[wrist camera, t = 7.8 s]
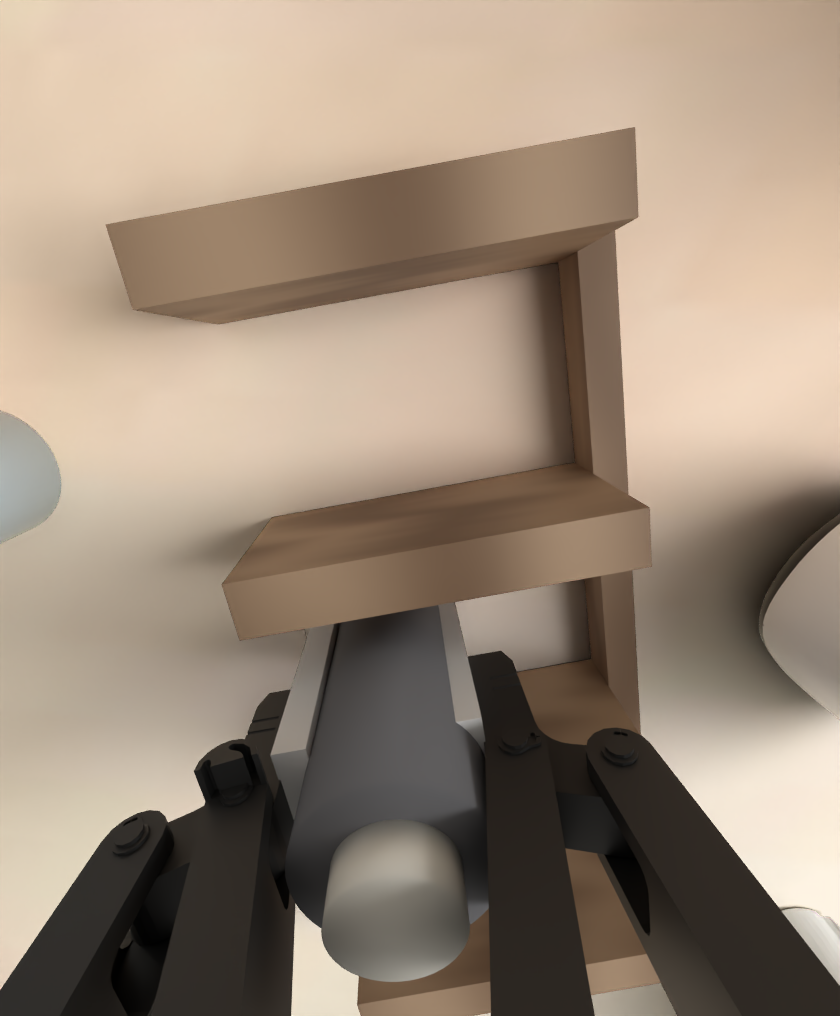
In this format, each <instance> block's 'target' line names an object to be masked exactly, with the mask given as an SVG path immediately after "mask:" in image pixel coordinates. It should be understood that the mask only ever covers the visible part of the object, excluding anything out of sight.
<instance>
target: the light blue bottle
mask: <svg viewBox="0 0 840 1016" xmlns="http://www.w3.org/2000/svg"><path fill="white" fill-rule="evenodd" d="M60 493H61V476H60V470H59V467H58V464H57V461H56V459H55V457H54V454H53V452H52V451H51V449H50V448H49V446H48V444H47V443H46V442H45V441H44V439H43V438H42V437H41V436H40V435H39V434H38V433H37V432H36V431H35V430H34V429H33V428H31V427H30V426H29V425H28V424H26V423H25V422H23V421H22V420H20V419H19V418H17V417H15V416H13V415H11V414H8V413H6V412H3V411H0V544H1V543H3V542H5V541H7V540H9V539H12V538H14V537H16V536H18V535H20V534H22V533H24V532H26V531H28V530H30V529H32V528H34V527H36V526H38V525H40V524H41V523H42V522H44V521H45V520H46V519H47V518H48V517H49V516H50V515H51V514H52V512H53V511H54V509H55V508H56V505H57V503H58V501H59V497H60Z"/></svg>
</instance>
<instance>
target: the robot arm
mask: <svg viewBox="0 0 840 1016" xmlns="http://www.w3.org/2000/svg"><path fill="white" fill-rule="evenodd" d="M439 612H440V619H441V626H442V632H443V639H444V646H445V653H446V659H447V666H448V673H449V680H450V686H451V693H452V700H453V707H454V713H455V720H456V723H458V724H459V725H461V726H462V727H463V728H464V729H466V730H467V731H468V732H469V733H470V734H471V735H472V736H473V738H474V739H475V740H476V741H477V743H478V744H479V746H480V747H481V749H482V751H483V753H484V756H485V763H486V809H487V855H488V901H489V946H490V992H491V1016H595V1015H594V1009H593V1004H592V998H591V992H590V986H589V981H588V975H587V969H586V964H585V958H584V952H583V946H582V941H581V935H580V929H579V924H578V918H577V912H576V906H575V901H574V895H573V889H572V884H571V878H570V872H569V866H568V861H567V855H566V849H573V850H579V851H585V852H592V853H597V855H598V857H599V859H600V861H601V863H602V865H603V867H604V869H605V871H606V873H607V875H608V877H609V879H610V881H611V883H612V885H613V887H614V889H615V891H616V893H617V895H618V897H619V899H620V901H621V903H622V905H623V908H624V910H625V912H626V914H627V916H628V918H629V920H630V922H631V924H632V926H633V928H634V930H635V932H636V934H637V936H638V938H639V940H640V942H641V944H642V946H643V948H644V950H645V952H646V954H647V956H648V958H649V960H650V962H651V964H652V966H653V968H654V970H655V972H656V974H657V976H658V978H659V980H660V982H661V984H662V986H663V988H664V990H665V992H666V994H667V996H668V998H669V1000H670V1002H671V1004H672V1006H673V1008H674V1010H675V1012H676V1014H677V1016H840V985H839V984H838V983H837V982H836V980H835V979H834V978H833V976H832V975H831V974H830V973H829V971H828V970H827V969H826V967H825V966H824V965H823V964H822V962H821V961H820V960H819V958H818V957H817V956H816V955H815V953H814V952H813V951H812V950H811V948H810V947H809V946H808V944H807V943H806V942H805V941H804V939H803V938H802V937H801V935H800V934H799V933H798V932H797V930H796V929H795V928H794V927H793V925H792V924H791V923H790V921H789V920H788V919H787V918H786V916H785V915H784V914H783V912H782V911H781V910H780V909H779V907H778V906H777V905H776V903H775V902H774V901H773V900H772V898H771V897H770V896H769V895H768V893H767V892H766V891H765V889H764V888H763V887H762V886H761V884H760V883H759V882H758V880H757V879H756V878H755V877H754V875H753V874H752V873H751V872H750V870H749V869H748V868H747V866H746V865H745V864H744V863H743V861H742V860H741V859H740V857H739V856H738V855H737V854H736V852H735V851H734V850H733V849H732V847H731V846H730V845H729V843H728V842H727V841H726V840H725V838H724V837H723V836H722V834H721V833H720V832H719V831H718V829H717V828H716V827H715V825H714V824H713V823H712V822H711V820H710V819H709V818H708V817H707V815H706V814H705V813H704V811H703V810H702V809H701V808H700V806H699V805H698V804H697V802H696V801H695V800H694V799H693V797H692V796H691V795H690V794H689V792H688V791H687V790H686V788H685V787H684V786H683V785H682V783H681V782H680V781H679V779H678V778H677V777H676V776H675V774H674V773H673V772H672V770H671V769H670V768H669V767H668V765H667V764H666V763H665V762H664V760H663V759H662V758H661V756H660V755H659V754H658V753H657V751H656V750H655V749H654V747H653V746H652V745H651V744H650V743H649V742H648V741H647V740H646V739H645V738H644V737H643V736H641V735H640V734H637V733H635V732H633V731H631V730H628V729H622V728H617V727H616V728H605V729H602V730H600V731H597V732H595V733H594V734H593V735H592V736H591V737H590V738H589V739H588V740H587V745H580V744H569V743H564V742H560V741H557V740H554V739H552V738H550V737H549V736H547V735H545V734H544V733H543V732H542V731H541V730H540V729H539V728H538V726H537V724H536V722H535V720H534V717H533V714H532V712H531V709H530V706H529V704H528V701H527V698H526V696H525V693H524V691H523V688H522V685H521V683H520V680H519V677H518V675H517V672H516V669H515V667H514V664H513V661H512V660H511V659H510V658H509V657H508V656H506V655H505V654H504V653H503V652H502V651H497V652H492V653H486V654H480V655H475V656H469V657H467V653H466V648H465V644H464V640H463V636H462V631H461V627H460V623H459V618H458V614H457V610H456V605H455V602H452V603H447V604H441V605H439ZM339 624H340V623H335V624H330V625H324V626H319V627H313V628H310V630H309V633H308V636H307V639H306V643H305V646H304V649H303V652H302V655H301V659H300V662H299V665H298V668H297V671H296V675H295V678H294V681H293V684H292V687H291V690H285V691H279V692H274V693H269V695H268V696H267V697H266V698H265V699H264V700H263V701H262V702H261V704H260V705H259V706H258V707H257V710H256V712H255V715H254V717H253V720H252V724H251V725H250V728H249V730H248V735H246V738H245V739H238V740H231V741H228V742H226V743H223V744H221V745H219V746H217V747H216V748H214V749H213V750H211V751H210V752H208V753H207V754H206V755H205V756H204V757H203V758H202V759H201V760H200V761H199V763H198V765H197V766H196V768H195V770H194V773H195V775H196V778H197V781H198V783H199V786H200V788H201V791H202V793H203V796H204V799H205V805H204V806H203V807H201V808H199V809H197V810H195V811H194V812H191V813H189V814H187V815H184V816H182V817H180V818H178V819H175V820H173V821H171V822H167V820H166V817H165V816H164V815H163V814H162V813H161V812H160V811H152V810H149V811H145V812H141V813H137V814H135V815H133V816H131V817H129V818H128V819H126V820H124V821H123V822H121V823H120V824H119V825H118V826H116V827H115V828H114V829H112V830H111V831H110V833H109V834H108V835H107V836H106V837H105V838H104V840H103V841H102V842H101V843H100V845H99V846H98V848H97V849H96V851H95V852H94V854H93V855H92V857H91V858H90V860H89V861H88V862H87V864H86V865H85V867H84V868H83V870H82V871H81V873H80V874H79V876H78V877H77V879H76V880H75V882H74V883H73V884H72V886H71V887H70V889H69V890H68V892H67V893H66V895H65V896H64V898H63V899H62V901H61V902H60V903H59V905H58V906H57V908H56V909H55V911H54V912H53V914H52V915H51V917H50V918H49V920H48V921H47V922H46V924H45V925H44V927H43V928H42V930H41V931H40V933H39V934H38V936H37V937H36V939H35V940H34V942H33V943H32V944H31V946H30V947H29V949H28V950H27V952H26V953H25V955H24V956H23V958H22V959H21V961H20V962H19V963H18V965H17V966H16V968H15V969H14V971H13V972H12V974H11V975H10V977H9V978H8V980H7V981H6V983H5V984H4V985H3V987H2V988H1V990H0V1016H291V1002H292V976H293V950H294V924H295V901H294V900H293V898H292V896H291V894H290V891H289V889H288V886H287V882H286V878H285V860H286V854H287V849H288V845H289V841H290V836H291V832H292V827H293V823H294V819H295V814H296V810H297V806H298V801H299V797H300V793H301V788H302V784H303V780H304V775H305V771H306V767H307V764H308V761H309V757H310V752H311V748H312V744H313V739H314V735H315V730H316V726H317V721H318V717H319V712H320V708H321V703H322V699H323V694H324V690H325V686H326V681H327V677H328V672H329V668H330V663H331V659H332V655H333V650H334V646H335V641H336V637H337V633H338V628H339ZM565 848H566V849H565Z"/></svg>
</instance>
